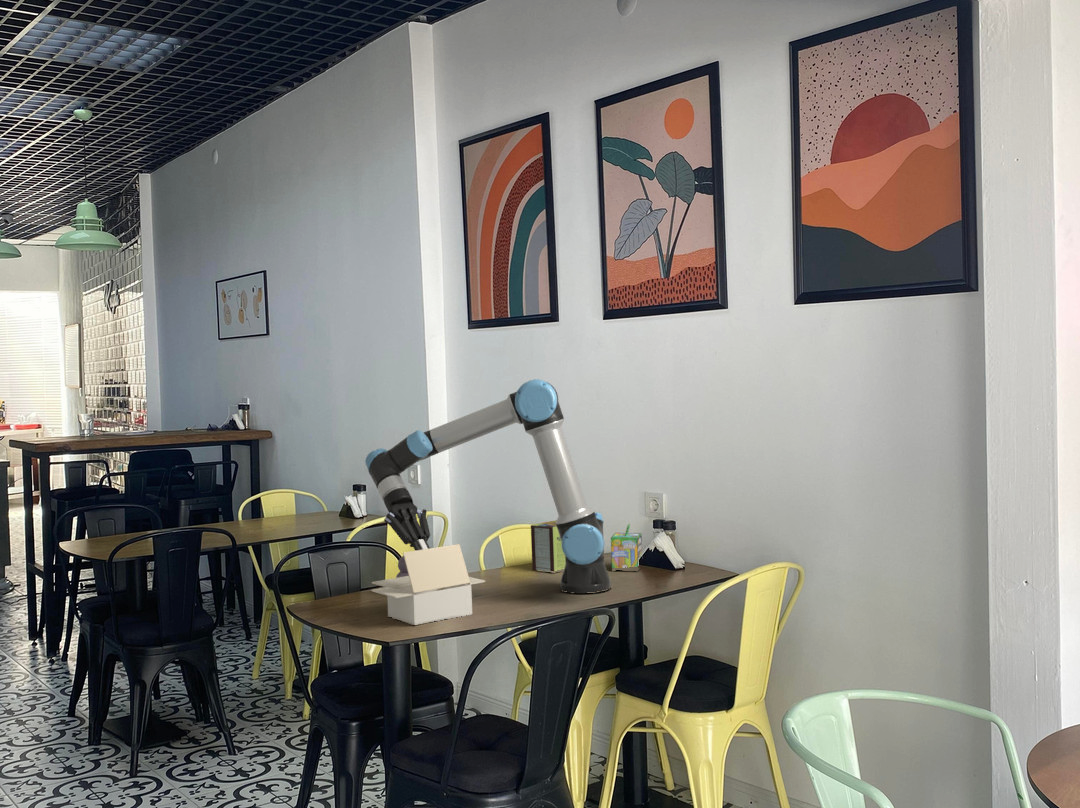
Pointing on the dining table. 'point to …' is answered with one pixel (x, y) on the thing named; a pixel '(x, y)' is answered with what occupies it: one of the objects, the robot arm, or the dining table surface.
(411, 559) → the flap
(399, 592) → the carton
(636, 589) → the dining table surface
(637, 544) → the chalk box
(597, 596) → the dining table surface
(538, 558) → the protein box
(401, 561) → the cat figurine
